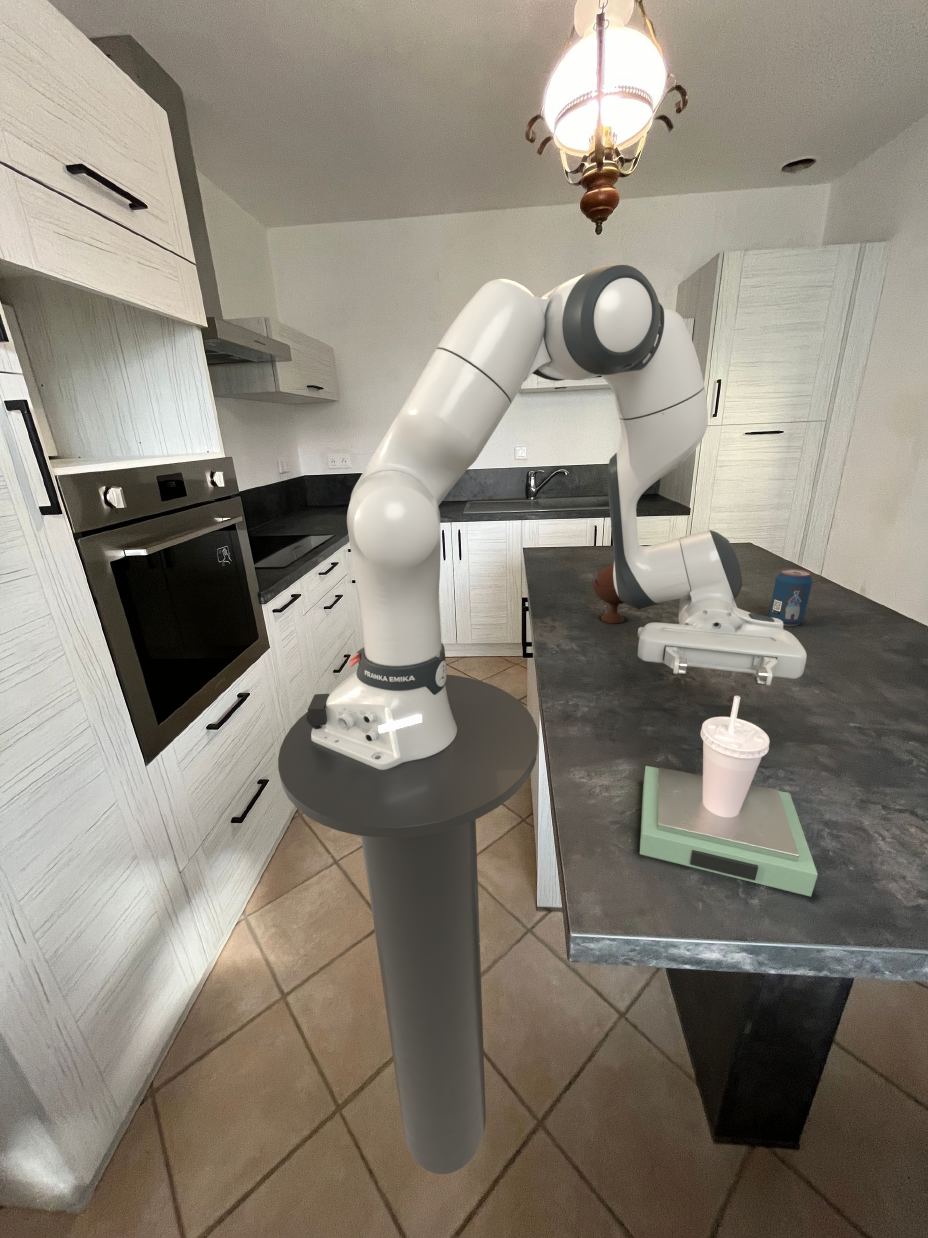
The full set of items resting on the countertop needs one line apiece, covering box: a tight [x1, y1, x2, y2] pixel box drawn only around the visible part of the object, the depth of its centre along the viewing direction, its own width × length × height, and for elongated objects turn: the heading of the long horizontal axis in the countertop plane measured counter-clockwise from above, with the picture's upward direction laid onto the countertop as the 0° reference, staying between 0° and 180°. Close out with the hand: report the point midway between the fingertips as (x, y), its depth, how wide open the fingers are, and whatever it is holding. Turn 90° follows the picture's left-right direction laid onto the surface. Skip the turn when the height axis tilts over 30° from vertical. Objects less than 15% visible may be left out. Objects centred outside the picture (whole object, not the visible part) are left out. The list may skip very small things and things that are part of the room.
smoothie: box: [700, 695, 771, 818], centre depth 52 cm, size 6×6×14 cm
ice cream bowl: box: [591, 561, 626, 624], centre depth 116 cm, size 11×11×15 cm
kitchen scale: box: [639, 765, 819, 898], centre depth 55 cm, size 16×12×3 cm
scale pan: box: [657, 766, 799, 861], centre depth 55 cm, size 13×10×1 cm
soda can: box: [768, 568, 813, 627], centre depth 112 cm, size 7×7×12 cm
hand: (721, 674), depth 61 cm, fingers open, 8 cm apart
